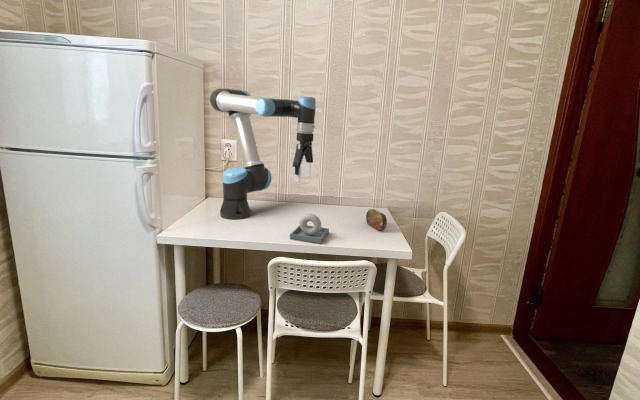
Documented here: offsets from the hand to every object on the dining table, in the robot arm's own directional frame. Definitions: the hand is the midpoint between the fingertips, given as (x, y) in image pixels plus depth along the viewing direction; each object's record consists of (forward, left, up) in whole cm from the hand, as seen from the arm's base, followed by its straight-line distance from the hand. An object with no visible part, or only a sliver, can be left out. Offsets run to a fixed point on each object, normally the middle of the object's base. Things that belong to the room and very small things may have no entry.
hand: (302, 178), depth 159 cm
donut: (+9, -12, -23) cm, 27 cm away
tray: (+9, -12, -23) cm, 27 cm away
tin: (+35, +12, -23) cm, 44 cm away
